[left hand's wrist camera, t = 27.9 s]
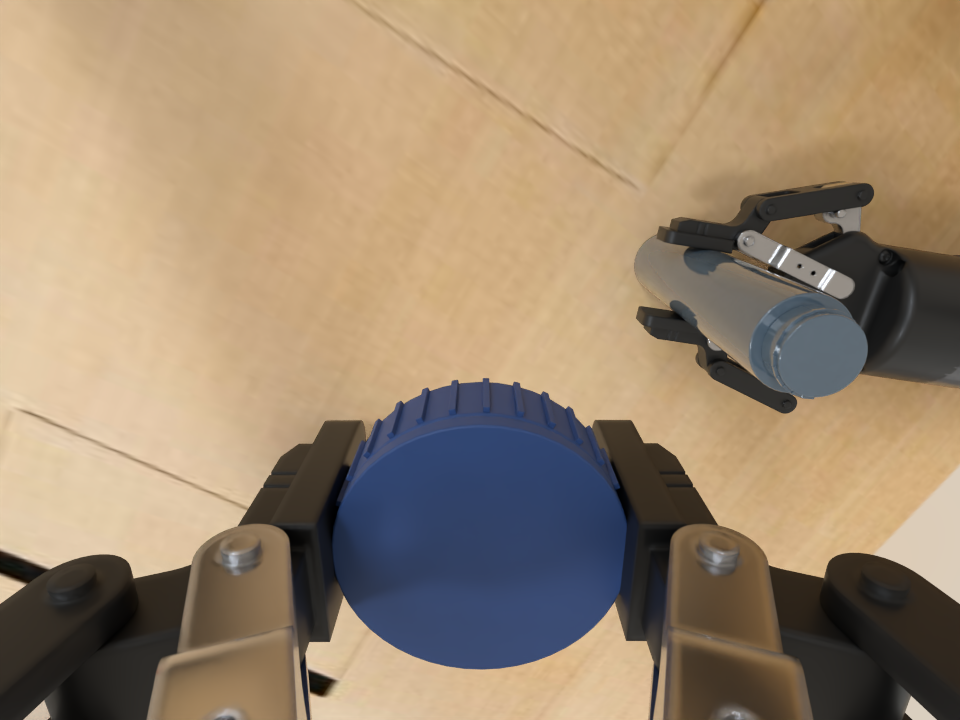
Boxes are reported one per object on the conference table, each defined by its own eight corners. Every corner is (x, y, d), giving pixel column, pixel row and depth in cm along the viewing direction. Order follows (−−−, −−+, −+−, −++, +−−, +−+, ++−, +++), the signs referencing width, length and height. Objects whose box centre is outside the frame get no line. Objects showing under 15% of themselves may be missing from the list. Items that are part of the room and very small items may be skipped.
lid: (375, 346, 10) (355, 386, 8) (651, 412, 10) (683, 462, 9) (329, 573, 12) (304, 643, 10) (567, 622, 12) (580, 695, 10)
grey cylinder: (640, 229, 39) (784, 296, 21) (701, 236, 39) (897, 308, 21) (628, 289, 40) (753, 403, 22) (687, 296, 40) (860, 413, 22)
